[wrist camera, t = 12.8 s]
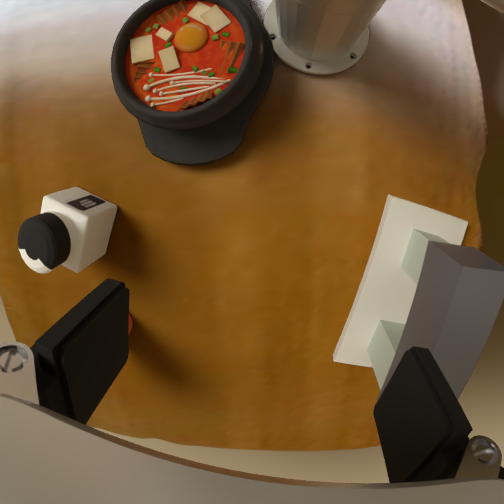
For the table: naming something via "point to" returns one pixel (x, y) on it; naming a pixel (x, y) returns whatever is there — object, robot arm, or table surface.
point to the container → (67, 231)
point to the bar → (452, 310)
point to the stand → (392, 282)
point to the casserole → (192, 75)
